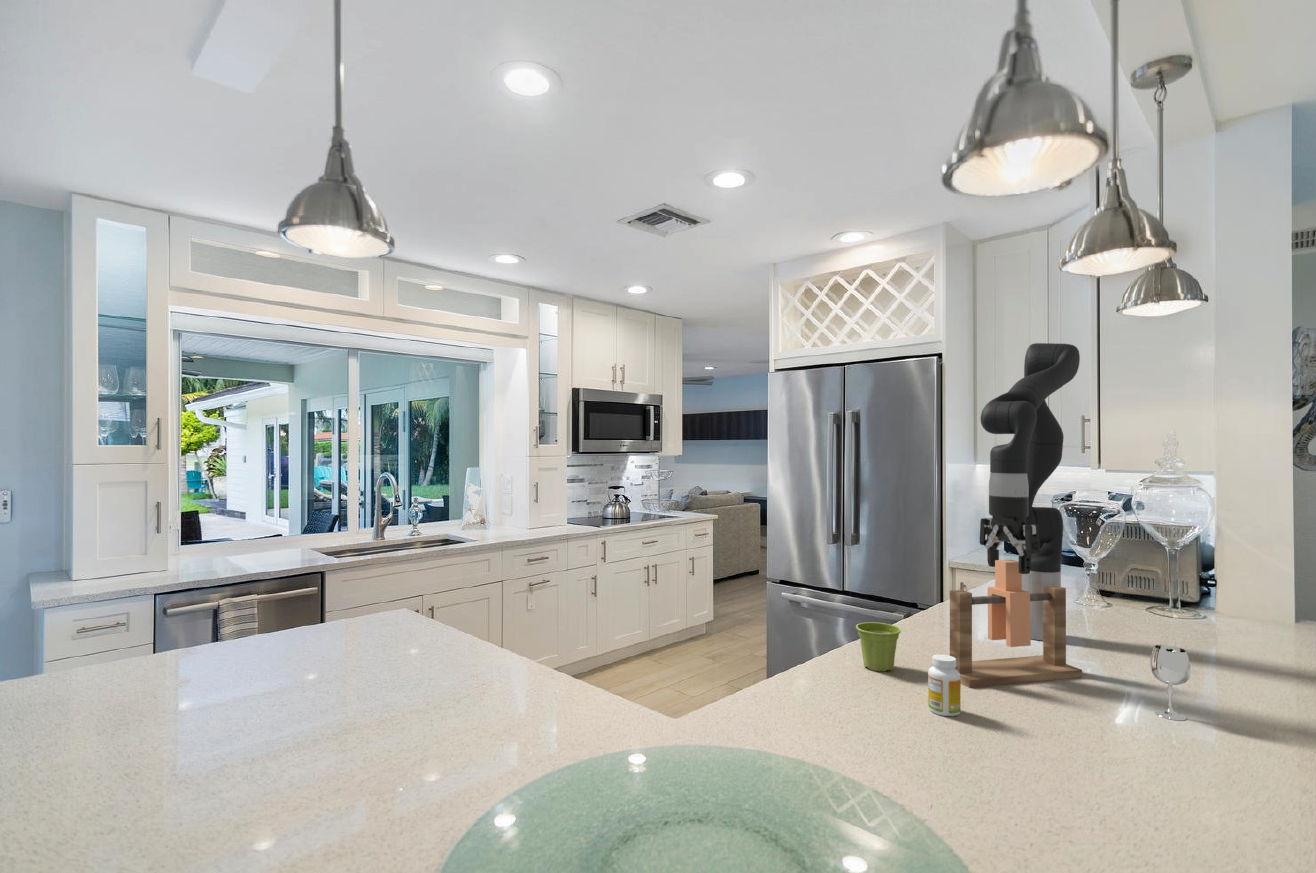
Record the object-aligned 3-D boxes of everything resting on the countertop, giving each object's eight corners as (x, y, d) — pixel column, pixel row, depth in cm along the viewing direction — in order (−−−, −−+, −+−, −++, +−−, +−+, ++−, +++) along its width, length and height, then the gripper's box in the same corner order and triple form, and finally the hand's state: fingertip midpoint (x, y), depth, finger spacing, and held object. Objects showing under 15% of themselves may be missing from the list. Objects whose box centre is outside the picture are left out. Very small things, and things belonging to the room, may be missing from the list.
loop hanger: (988, 638, 142) (987, 559, 142) (1007, 637, 143) (1006, 558, 143) (1010, 647, 136) (1009, 563, 136) (1030, 645, 137) (1029, 563, 137)
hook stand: (936, 671, 141) (936, 587, 141) (1043, 661, 148) (1043, 582, 148) (969, 687, 131) (969, 597, 131) (1082, 676, 138) (1081, 591, 138)
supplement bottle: (958, 707, 121) (958, 654, 121) (962, 718, 115) (962, 663, 116) (927, 703, 122) (927, 651, 123) (929, 714, 117) (929, 660, 117)
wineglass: (1185, 712, 119) (1184, 646, 120) (1195, 724, 114) (1195, 655, 114) (1146, 706, 122) (1146, 642, 122) (1155, 718, 117) (1154, 650, 117)
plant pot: (853, 671, 140) (853, 630, 140) (857, 658, 149) (857, 620, 149) (900, 677, 137) (900, 635, 137) (901, 663, 145) (901, 624, 145)
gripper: (1050, 496, 134) (1050, 575, 134) (998, 491, 148) (998, 563, 147) (1020, 496, 132) (1020, 577, 132) (969, 492, 146) (969, 564, 146)
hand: (1008, 570), depth 140 cm, fingers open, 8 cm apart
